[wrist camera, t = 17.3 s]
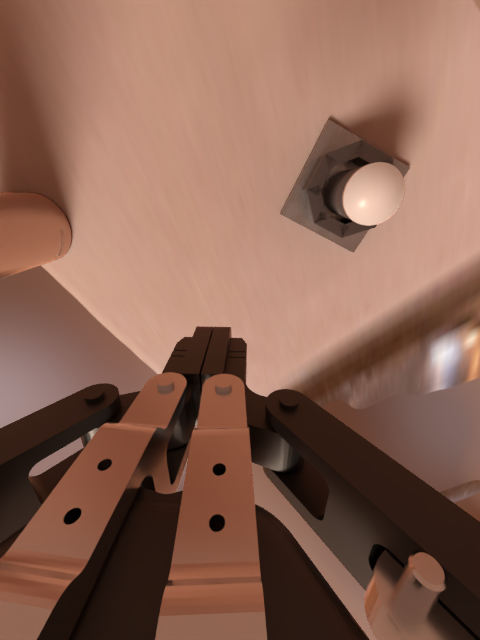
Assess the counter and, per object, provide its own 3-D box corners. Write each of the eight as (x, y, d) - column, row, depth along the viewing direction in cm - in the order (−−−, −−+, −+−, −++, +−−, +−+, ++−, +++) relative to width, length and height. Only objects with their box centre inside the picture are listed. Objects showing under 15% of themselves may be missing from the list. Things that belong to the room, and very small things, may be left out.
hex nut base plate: (280, 213, 36) (282, 216, 32) (327, 120, 31) (337, 110, 27) (352, 251, 37) (363, 259, 33) (408, 167, 33) (428, 164, 29)
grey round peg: (315, 203, 35) (332, 209, 26) (339, 160, 33) (367, 150, 24) (350, 223, 35) (379, 235, 26) (376, 182, 33) (418, 180, 24)
